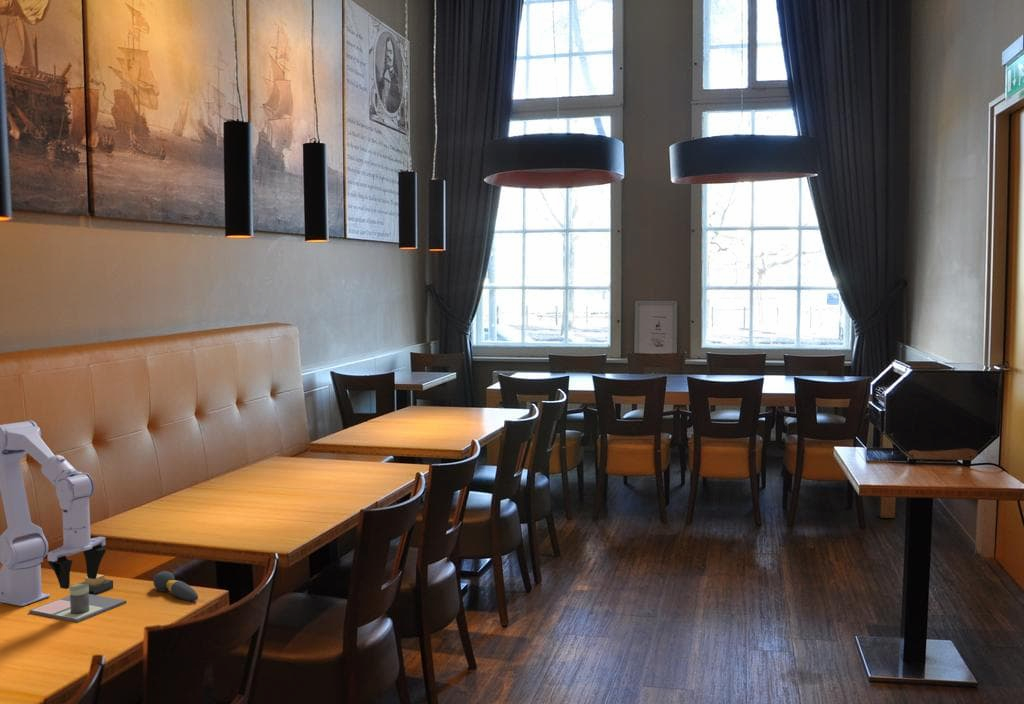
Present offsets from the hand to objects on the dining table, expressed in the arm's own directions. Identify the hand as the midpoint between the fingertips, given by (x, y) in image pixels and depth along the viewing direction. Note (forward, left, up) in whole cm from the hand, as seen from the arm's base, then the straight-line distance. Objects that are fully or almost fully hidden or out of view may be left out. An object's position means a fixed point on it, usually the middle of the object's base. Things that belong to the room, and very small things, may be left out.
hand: (78, 583), depth 210 cm
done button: (-11, +14, -6) cm, 19 cm away
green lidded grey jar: (0, 0, -7) cm, 7 cm away
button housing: (-11, +14, -8) cm, 19 cm away
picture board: (-4, +3, -8) cm, 9 cm away
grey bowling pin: (+11, +20, -8) cm, 24 cm away
